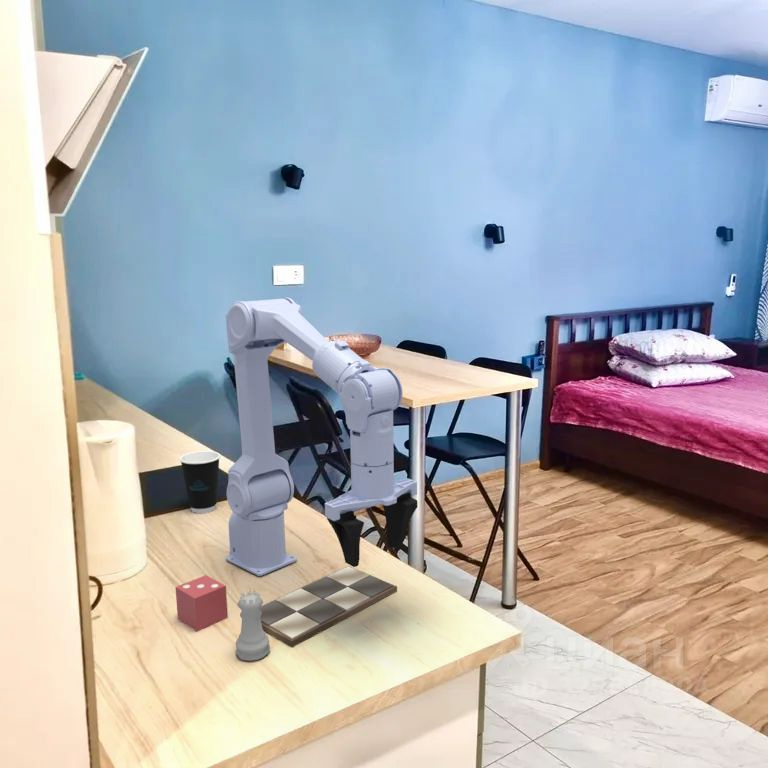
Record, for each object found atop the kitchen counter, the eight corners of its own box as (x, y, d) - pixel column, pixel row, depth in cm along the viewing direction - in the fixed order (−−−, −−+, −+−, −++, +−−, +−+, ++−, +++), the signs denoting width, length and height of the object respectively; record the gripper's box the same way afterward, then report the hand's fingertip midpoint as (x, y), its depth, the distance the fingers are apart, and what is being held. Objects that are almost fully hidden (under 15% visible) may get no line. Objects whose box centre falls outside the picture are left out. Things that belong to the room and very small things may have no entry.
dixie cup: (212, 499, 150) (209, 448, 147) (230, 509, 144) (227, 456, 141) (176, 508, 145) (172, 455, 143) (193, 519, 139) (189, 465, 137)
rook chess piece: (254, 639, 96) (251, 584, 95) (277, 651, 94) (274, 594, 92) (228, 654, 93) (224, 597, 91) (251, 666, 90) (247, 608, 89)
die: (177, 619, 102) (175, 586, 101) (208, 606, 106) (205, 574, 105) (197, 632, 99) (194, 598, 98) (227, 618, 102) (225, 585, 101)
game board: (243, 619, 102) (243, 612, 101) (348, 570, 116) (348, 564, 116) (291, 647, 94) (291, 640, 94) (397, 591, 109) (396, 585, 109)
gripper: (347, 479, 88) (349, 582, 90) (432, 455, 97) (432, 549, 100) (314, 466, 93) (317, 564, 96) (397, 445, 102) (398, 534, 105)
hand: (373, 555), depth 98 cm, fingers open, 7 cm apart
